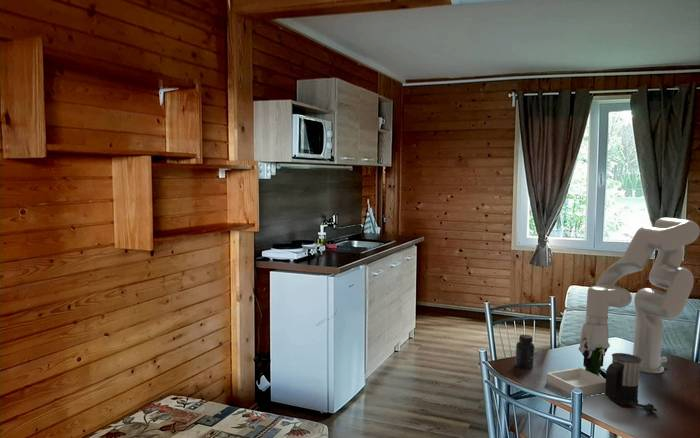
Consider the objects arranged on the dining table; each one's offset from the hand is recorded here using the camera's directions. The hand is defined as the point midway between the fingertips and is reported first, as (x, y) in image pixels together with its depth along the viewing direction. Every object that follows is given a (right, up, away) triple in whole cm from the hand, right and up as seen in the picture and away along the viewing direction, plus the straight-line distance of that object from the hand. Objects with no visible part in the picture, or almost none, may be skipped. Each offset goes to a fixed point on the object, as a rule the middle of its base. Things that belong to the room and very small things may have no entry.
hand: (593, 365), depth 212 cm
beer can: (0, -3, 0) cm, 3 cm away
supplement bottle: (-24, -2, +6) cm, 25 cm away
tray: (-12, -4, -15) cm, 19 cm away
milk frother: (+1, -6, -28) cm, 28 cm away
